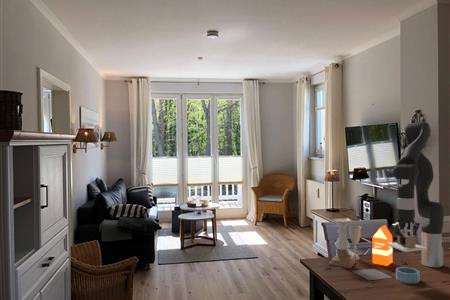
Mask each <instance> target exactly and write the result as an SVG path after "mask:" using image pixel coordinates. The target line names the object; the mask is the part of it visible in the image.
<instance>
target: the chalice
mask: <svg viewBox="0 0 450 300" xmlns="http://www.w3.org/2000/svg"><path fill="white" fill-rule="evenodd" d="M348 228H349V229H348V230H349V234H348V235H349V239H350V240H351V242H352V244H353V254H351V257H352V258H354V260H355V261H359V260H361V259H360V256H359V255H358V254H357V252H358V251H357V244H358V243H359V242H360V239H361V236H362V235H361V233H362V230H361V229H362V226H361V225H354V224H353V225H348Z"/></svg>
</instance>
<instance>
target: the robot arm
mask: <svg viewBox="0 0 450 300" xmlns="http://www.w3.org/2000/svg"><path fill="white" fill-rule="evenodd" d="M404 135H405V139H406V143H407V146H406V147H405V149H403V152H402V155H401V158H400V159H399V160H398V161H397V162H396V163H395V164H394V166H393V167H392V176H393V177H394V178H395V179H396V180H404V181H405V180H406V181H407V180H408V182H407V183H404V184H399V185H397V189H396V194H397V195H396V197H397V198H396V217H397V220H396V222H395V223H392V224H391V226H392V228H393V231H394V234H395V235H396V237H397V236H400V244H401V245H405V235H408V236H411V237H414V236H416V235H417V233H418V230H419V228H420V224H421V223H420V222H417V221H415V218H416V206H417V212H418V214H419V216H420V217H421V218H422V219H423V218H425V219H428V220H429V222H428V223H427V224H423V225H421V236H420V237H421V238H420V239H421V242H420V243H421V244H420V246H423V247H426V248H427V249H426V250H421V265H423V266H426V267H428V268H429V267H430V268H441V267H442V266H444V247H443V246H442V244H443V241H442V240H443V239H442V237H443V236H442V233H443V232H442V231H443V228H444V216H445V211H444V206H443V204H442V203H441V202H438V201H433V200H432V201H431V200H430V198H429V189H430V188H431V185H432V182H433V181H434V178H435V177H434V168H433V163H432V162H431V161H430V159H428V158H427V156H426V155H425V154H424V153H422V150H423V148H424V147H425V145H426V144H427V142H428V140H429V139H430V136H431V126H430V124H429V123H428V122H426V121H420V122H419V121H418V122H411V123H407V124H405V126H404ZM415 191H416V193H415ZM415 195H416V201H415ZM415 202H416V203H415Z"/></svg>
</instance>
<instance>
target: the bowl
mask: <svg viewBox="0 0 450 300" xmlns="http://www.w3.org/2000/svg"><path fill="white" fill-rule="evenodd" d="M420 277H421V272H420V270H418V269H416V268H412V267H408V266H398V267H396V268H395V279H396V280H397V281H398V282H400V283H405V284H415V285H416V284H419V283H420V282H421V278H420Z"/></svg>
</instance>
